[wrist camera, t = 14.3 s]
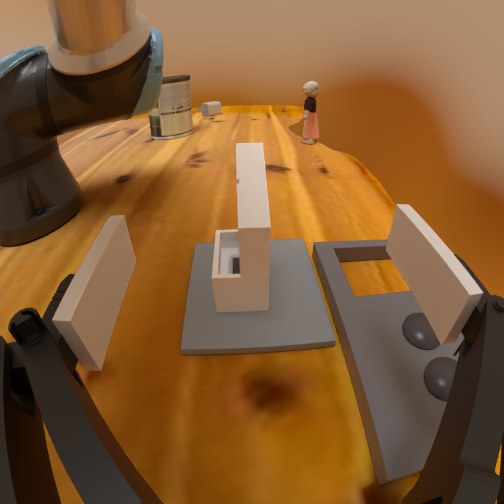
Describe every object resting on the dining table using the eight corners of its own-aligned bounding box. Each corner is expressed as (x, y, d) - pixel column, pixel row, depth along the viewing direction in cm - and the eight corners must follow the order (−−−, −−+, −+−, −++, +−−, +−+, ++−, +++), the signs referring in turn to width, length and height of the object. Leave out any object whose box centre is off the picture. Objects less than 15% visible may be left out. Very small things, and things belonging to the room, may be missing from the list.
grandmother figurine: (319, 146, 56) (322, 83, 48) (299, 144, 56) (301, 81, 49) (318, 137, 62) (320, 80, 55) (300, 135, 63) (302, 79, 55)
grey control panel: (312, 256, 27) (314, 238, 26) (415, 250, 28) (420, 235, 27) (378, 486, 11) (391, 478, 10) (514, 425, 12) (531, 412, 10)
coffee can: (142, 140, 64) (136, 82, 56) (164, 129, 72) (159, 77, 64) (182, 139, 62) (177, 77, 54) (200, 128, 70) (197, 73, 62)
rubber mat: (196, 248, 29) (195, 243, 28) (302, 243, 29) (303, 238, 29) (181, 354, 19) (180, 349, 19) (334, 346, 19) (335, 340, 19)
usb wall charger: (221, 114, 86) (220, 102, 84) (201, 118, 83) (200, 105, 80) (214, 113, 89) (213, 101, 86) (194, 116, 85) (193, 104, 83)
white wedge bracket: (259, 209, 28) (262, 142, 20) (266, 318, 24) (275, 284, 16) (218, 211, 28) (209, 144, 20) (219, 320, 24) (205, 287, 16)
